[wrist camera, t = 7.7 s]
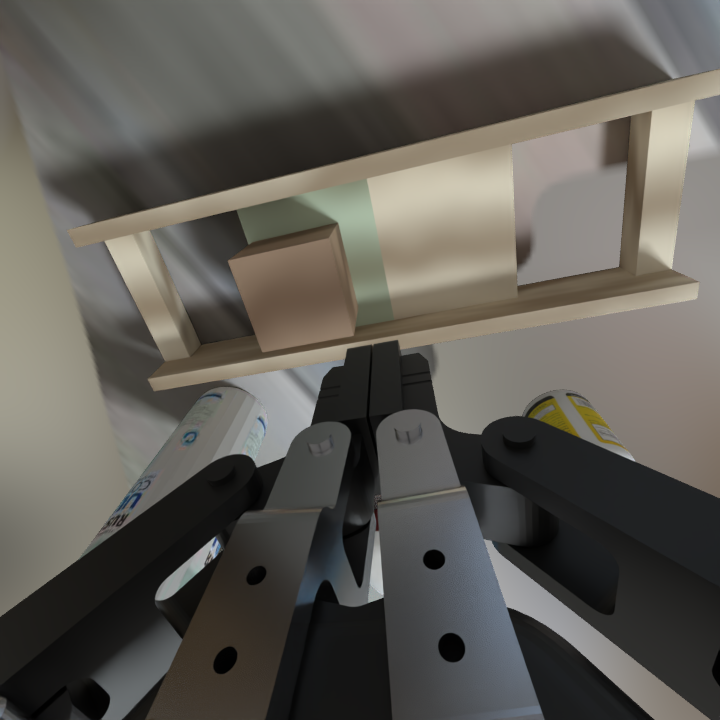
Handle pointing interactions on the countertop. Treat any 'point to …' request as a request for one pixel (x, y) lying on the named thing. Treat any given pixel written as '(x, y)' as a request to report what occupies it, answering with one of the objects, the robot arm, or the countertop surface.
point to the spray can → (193, 465)
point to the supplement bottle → (575, 419)
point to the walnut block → (297, 288)
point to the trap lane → (429, 237)
